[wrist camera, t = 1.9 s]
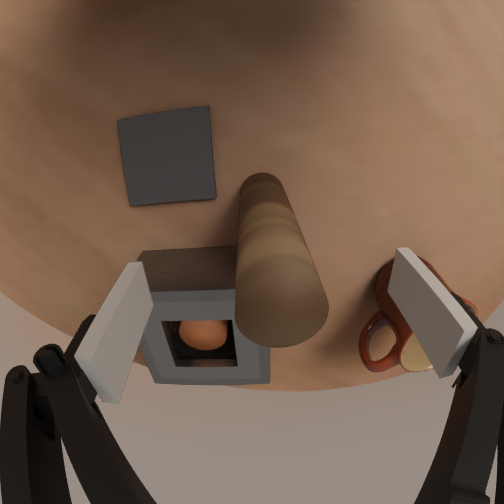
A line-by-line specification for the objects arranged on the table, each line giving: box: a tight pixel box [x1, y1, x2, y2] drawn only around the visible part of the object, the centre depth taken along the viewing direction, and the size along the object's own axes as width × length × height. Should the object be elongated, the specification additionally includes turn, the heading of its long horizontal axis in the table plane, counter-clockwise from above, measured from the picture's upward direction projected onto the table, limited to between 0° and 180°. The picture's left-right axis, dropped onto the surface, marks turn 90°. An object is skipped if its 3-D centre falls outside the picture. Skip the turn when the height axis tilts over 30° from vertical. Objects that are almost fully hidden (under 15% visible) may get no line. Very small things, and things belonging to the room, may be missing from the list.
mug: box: [358, 256, 478, 372], centre depth 26 cm, size 12×9×10 cm
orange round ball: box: [179, 320, 228, 350], centre depth 27 cm, size 4×4×3 cm
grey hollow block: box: [136, 246, 270, 385], centre depth 28 cm, size 12×12×7 cm
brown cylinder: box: [234, 173, 329, 348], centre depth 19 cm, size 4×4×16 cm
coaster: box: [117, 106, 217, 206], centre depth 24 cm, size 8×8×1 cm
